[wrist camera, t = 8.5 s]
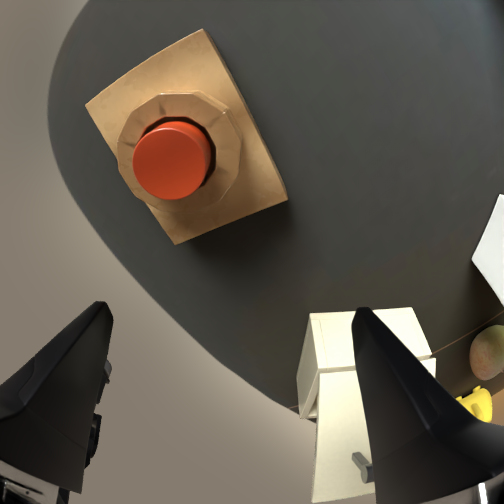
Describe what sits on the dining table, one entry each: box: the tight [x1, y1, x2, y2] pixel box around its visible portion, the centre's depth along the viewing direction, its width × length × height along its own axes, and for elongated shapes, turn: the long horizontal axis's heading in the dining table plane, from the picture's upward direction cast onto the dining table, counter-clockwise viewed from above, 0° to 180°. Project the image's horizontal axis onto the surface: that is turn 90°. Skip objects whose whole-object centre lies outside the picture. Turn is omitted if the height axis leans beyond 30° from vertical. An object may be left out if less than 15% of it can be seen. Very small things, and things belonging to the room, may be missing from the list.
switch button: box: [132, 121, 211, 200], centre depth 13 cm, size 4×4×2 cm
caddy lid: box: [311, 358, 436, 503], centre depth 16 cm, size 12×11×5 cm
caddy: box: [296, 307, 432, 419], centre depth 26 cm, size 12×11×6 cm
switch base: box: [85, 29, 288, 245], centre depth 15 cm, size 11×8×4 cm
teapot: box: [456, 386, 492, 423], centre depth 41 cm, size 18×11×11 cm, turn 31°
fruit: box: [469, 325, 504, 380], centre depth 26 cm, size 8×7×8 cm
